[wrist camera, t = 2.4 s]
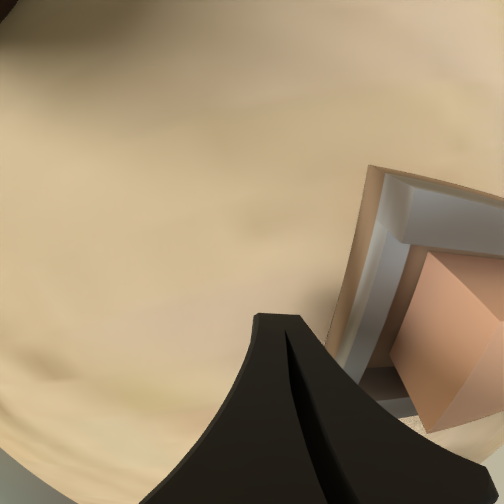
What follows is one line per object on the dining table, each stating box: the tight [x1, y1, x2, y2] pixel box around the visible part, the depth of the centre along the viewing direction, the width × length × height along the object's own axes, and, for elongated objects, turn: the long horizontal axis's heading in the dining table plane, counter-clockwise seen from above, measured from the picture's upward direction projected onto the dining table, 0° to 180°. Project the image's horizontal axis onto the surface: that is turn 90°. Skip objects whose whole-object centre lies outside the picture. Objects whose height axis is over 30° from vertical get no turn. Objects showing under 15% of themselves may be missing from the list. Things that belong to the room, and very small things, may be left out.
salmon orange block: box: [389, 251, 504, 434], centre depth 10 cm, size 5×5×4 cm
